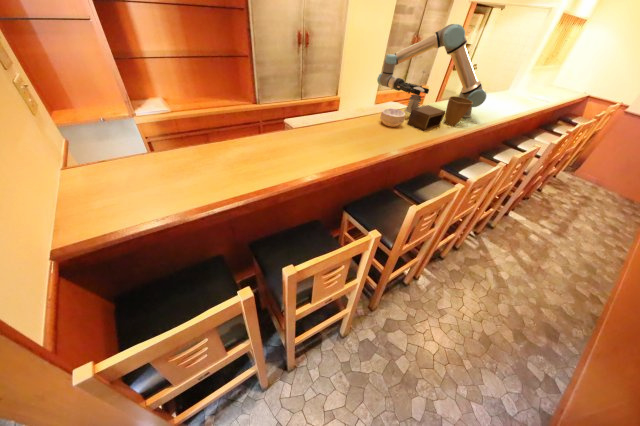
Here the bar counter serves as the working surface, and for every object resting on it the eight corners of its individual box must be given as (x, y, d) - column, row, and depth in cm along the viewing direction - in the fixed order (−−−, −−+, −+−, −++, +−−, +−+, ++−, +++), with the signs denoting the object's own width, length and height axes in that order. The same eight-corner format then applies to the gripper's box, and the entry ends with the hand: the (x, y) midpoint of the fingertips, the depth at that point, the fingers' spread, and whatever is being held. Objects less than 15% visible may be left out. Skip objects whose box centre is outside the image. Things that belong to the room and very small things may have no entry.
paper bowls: (376, 125, 156) (379, 112, 151) (381, 118, 167) (384, 106, 162) (400, 130, 152) (404, 117, 147) (403, 123, 163) (407, 111, 158)
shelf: (423, 119, 172) (428, 105, 166) (439, 126, 165) (445, 111, 158) (407, 124, 163) (412, 108, 156) (423, 131, 155) (429, 115, 149)
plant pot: (436, 122, 170) (446, 98, 160) (443, 118, 179) (453, 95, 169) (458, 129, 163) (469, 104, 153) (464, 124, 172) (475, 100, 162)
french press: (419, 110, 171) (433, 70, 154) (417, 115, 162) (431, 73, 146) (405, 107, 173) (417, 67, 157) (402, 112, 165) (414, 70, 149)
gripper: (404, 88, 177) (431, 96, 165) (385, 90, 166) (412, 100, 154) (407, 76, 173) (435, 84, 160) (388, 78, 161) (416, 87, 149)
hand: (424, 92), depth 157 cm, fingers closed on french press, 9 cm apart
